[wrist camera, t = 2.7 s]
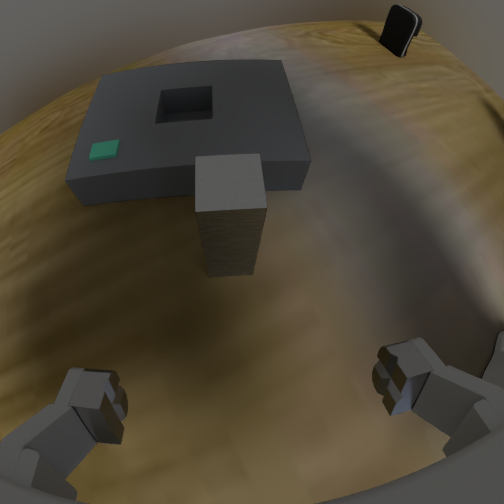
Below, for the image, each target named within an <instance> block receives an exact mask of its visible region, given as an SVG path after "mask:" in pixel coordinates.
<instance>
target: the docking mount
mask: <svg viewBox="0 0 504 504" xmlns="http://www.w3.org/2000/svg"><path fill="white" fill-rule="evenodd" d="M232 154H260V159H261V166H262V173H263V180H264V187H265V191H276V190H301V188H302V185H303V182H304V179H305V177H306V174H307V171H308V168H309V165H310V163H311V158H310V155H309V151H308V147H307V144H306V140H305V136H304V133H303V129H302V126H301V122H300V119H299V115H298V112H297V109H296V105H295V102H294V99H293V95H292V92H291V89H290V86H289V83H288V80H287V77H286V73H285V70H284V67H283V64H282V61H281V60H214V61H198V62H186V63H176V64H167V65H159V66H151V67H145V68H138V69H132V70H127V71H121V72H116V73H111V74H107V75H102V77H101V80H100V82H99V84H98V86H97V89H96V91H95V93H94V96H93V98H92V101H91V103H90V106H89V108H88V111H87V113H86V116H85V119H84V121H83V124H82V127H81V130H80V133H79V136H78V139H77V142H76V145H75V148H74V151H73V154H72V157H71V161H70V164H69V168H68V171H67V175H66V179H65V181H66V183H67V184H68V186H69V187H70V188H71V190H72V191H73V192H74V194H75V195H76V197H77V198H78V199H79V201H80V202H81V203H82V205H83V206H86V205H94V204H102V203H110V202H119V201H128V200H138V199H149V198H159V197H171V196H184V195H195V160H196V157H198V156H213V155H232Z"/></svg>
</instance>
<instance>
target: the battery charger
mask: <svg viewBox="0 0 504 504" xmlns="http://www.w3.org/2000/svg"><path fill="white" fill-rule="evenodd" d="M421 25H422V19H421V17H420V16H419V15H418V14H416V13H415V12H413V11H412V10H410V9H409V8H407V7H405V6H401V5H398V4H395V5H393V6H392V7H391V9H390V11H389V14H388V17H387V19H386V22H385V25H384V29H383V32H382V34H381V37H380V39H379V42H381V43H382V44H383V45H384V46H385V47H387V48H388V49H389V50H390V51H392V52H393V53H394V54H396V55H397V56H399V57H404V56H406V53H407V48H408V46H409V44H410V42H411V40H412V38H413V36H417V35H418V33H419V31H420V28H421Z"/></svg>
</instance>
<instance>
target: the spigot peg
mask: <svg viewBox="0 0 504 504" xmlns="http://www.w3.org/2000/svg"><path fill="white" fill-rule="evenodd" d="M266 212H267V202H266V194H265V187H264V180H263V173H262V166H261V159H260V154H232V155H213V156H198V157H196V160H195V213H196V217H197V222H198V227H199V232H200V237H201V242H202V246H203V251H204V256H205V260H206V265H207V269H208V274H209V278H210V277H226V276H241V275H253V272H254V268H255V263H256V258H257V254H258V249H259V244H260V240H261V235H262V231H263V226H264V221H265V217H266Z"/></svg>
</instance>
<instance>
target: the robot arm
mask: <svg viewBox="0 0 504 504" xmlns="http://www.w3.org/2000/svg"><path fill="white" fill-rule="evenodd" d="M377 357H378V358H379V361H378V362H377V363H376V364H375V365H374V368H373V372H372V381H373V385H374V387H375V389H376V391H377V393H379V394H381V395H383V396H384V397H383V401H382V402H383V404H384V406H385V408H386V409H387V411H388V413H389V415H390V416H393V415H396V414H399V413H403V412H406V411H409V410H412V412H414V413H415V414H417V415H418V416H420V417H421V418H423V419H424V420H426V421H427V422H429V423H430V424H432V425H433V426H435V427H436V428H438V429H439V430H441V431H442V432H444V433H445V434H447V435H448V436H450V437H451V438H450V439H449V440H448V442H447V443H446V444H445V445H444V447H443V452H444V453H445V455H446V458H444V459H442V460H440V461H438V462H436V463H434V464H431V465H429V466H427V467H425V468H423V469H420V470H418V471H416V472H414V473H411V474H409V475H406V476H404V477H401V478H399V479H396V480H394V481H391V482H388V483H385V484H383V485H380V486H377V487H374V488H371V489H368V490H365V491H361V492H358V493H355V494H351V495H348V496H344V497H340V498H337V499H333V500H328V501H324V502H320V503H315V504H504V331H501V332H500V333H499V335H498V337H497V341H496V346H495V351H494V355H493V357H492V359H491V361H490V363H489V365H488V366H487V368H486V370H485V372H484V375H483V377H482V379H480V378H477V377H475V376H473V375H471V374H468V373H466V372H464V371H461V370H459V369H457V368H454V367H452V366H450V365H449V366H445V365H444V363H443V362H442V361H441V360H440V358H439V357H438V356H437V355H436V354H435V352H434V351H433V350H432V349H431V348H430V346H429V345H428V344H427V343H426V342H425V340H424V339H422V338H420V337H418V338H414V339H411V340H407V341H403V342H399V343H395V344H390V345H386V346H382V347H381V348H380V349H379V351H378V354H377ZM119 381H120V378H119V376H118V374H117V372H116V371H113V370H100V369H88V368H85V369H84V368H74V367H72V368H71V369H69V371H68V373H67V375H66V377H65V380H64V382H63V384H62V386H61V388H60V391H59V393H58V395H57V398H56V400H55V402H54V404H49V405H47V406H46V407H45V408H43V409H42V410H41V411H39V412H38V413H37V414H35V415H34V416H33V417H31V418H30V419H29V420H27V421H26V422H24V423H23V424H22V425H20V426H19V427H18V428H16V429H15V430H14V431H12V432H11V433H10V434H8V435H7V436H6V437H4V438H3V439H2V441H1V443H0V504H88V503H84V502H79V501H76V498H77V491H76V489H75V488H74V487H73V486H72V485H71V484H70V483H68V482H67V481H66V480H65V479H66V478H67V477H68V476H69V474H70V473H71V472H72V471H73V470H74V469H75V468H76V467H77V465H78V464H79V463H80V462H81V461H82V460H83V459H84V458H85V456H86V455H87V454H88V453H89V452H90V451H91V450H92V449H93V448H94V446H95V445H96V444H97V443H96V442H98V443H108V444H121V442H122V437H123V432H124V426H123V425H122V423H121V421H122V420H124V419H125V418H126V417H127V412H128V400H127V395H126V392H125V390H124V389H123V388H122V387H121V386H119V385H118V384H119Z"/></svg>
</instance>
